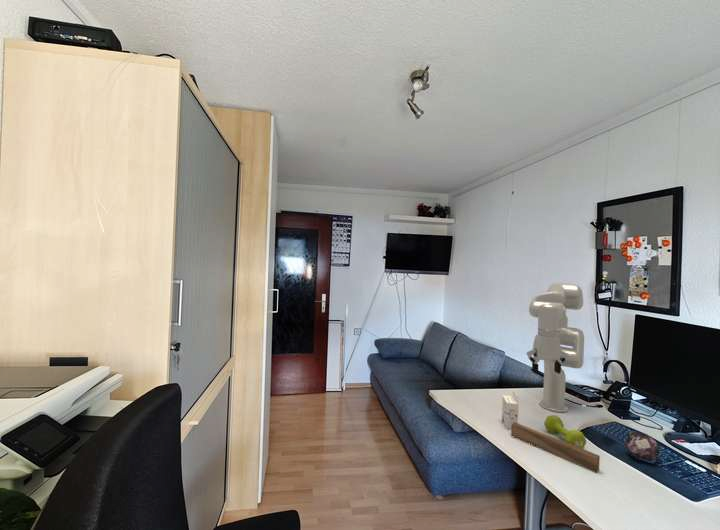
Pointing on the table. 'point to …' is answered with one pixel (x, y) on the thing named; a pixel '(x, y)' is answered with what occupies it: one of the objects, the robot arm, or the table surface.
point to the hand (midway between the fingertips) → (546, 372)
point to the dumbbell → (564, 431)
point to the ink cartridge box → (510, 410)
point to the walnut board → (557, 447)
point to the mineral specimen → (642, 446)
